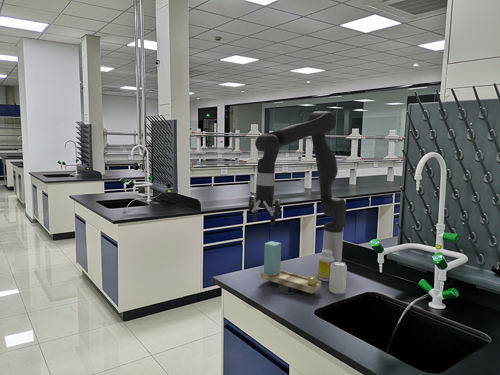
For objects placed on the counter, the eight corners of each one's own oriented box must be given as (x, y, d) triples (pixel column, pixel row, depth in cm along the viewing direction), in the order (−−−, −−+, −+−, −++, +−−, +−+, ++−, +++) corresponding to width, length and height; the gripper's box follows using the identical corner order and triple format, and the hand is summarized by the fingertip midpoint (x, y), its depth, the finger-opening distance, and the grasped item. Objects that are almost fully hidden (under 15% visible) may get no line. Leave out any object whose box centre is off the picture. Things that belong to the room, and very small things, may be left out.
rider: (263, 273, 153) (264, 243, 152) (270, 269, 157) (271, 241, 156) (273, 276, 150) (274, 245, 149) (280, 272, 154) (281, 243, 153)
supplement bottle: (329, 283, 155) (331, 254, 153) (315, 279, 159) (316, 251, 157) (335, 278, 160) (337, 250, 159) (322, 274, 164) (323, 247, 163)
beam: (260, 278, 153) (260, 272, 152) (271, 272, 159) (271, 267, 159) (311, 293, 138) (312, 287, 138) (321, 287, 145) (321, 281, 144)
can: (327, 292, 146) (328, 263, 144) (331, 286, 151) (333, 259, 150) (343, 296, 143) (345, 266, 141) (347, 290, 148) (348, 262, 147)
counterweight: (305, 285, 142) (306, 277, 142) (310, 282, 145) (310, 275, 145) (314, 287, 140) (314, 280, 140) (318, 284, 143) (318, 277, 143)
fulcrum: (275, 289, 147) (275, 284, 146) (289, 281, 155) (289, 276, 155) (290, 294, 143) (290, 288, 142) (303, 286, 151) (304, 280, 151)
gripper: (285, 185, 147) (282, 224, 149) (256, 181, 155) (254, 218, 157) (275, 186, 141) (273, 227, 143) (245, 182, 149) (244, 221, 151)
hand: (263, 222), depth 150 cm, fingers open, 8 cm apart
